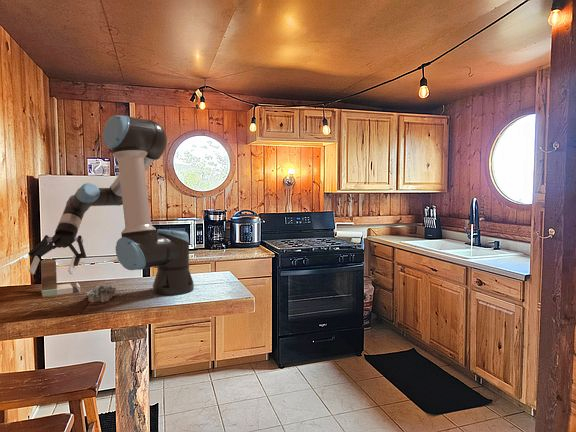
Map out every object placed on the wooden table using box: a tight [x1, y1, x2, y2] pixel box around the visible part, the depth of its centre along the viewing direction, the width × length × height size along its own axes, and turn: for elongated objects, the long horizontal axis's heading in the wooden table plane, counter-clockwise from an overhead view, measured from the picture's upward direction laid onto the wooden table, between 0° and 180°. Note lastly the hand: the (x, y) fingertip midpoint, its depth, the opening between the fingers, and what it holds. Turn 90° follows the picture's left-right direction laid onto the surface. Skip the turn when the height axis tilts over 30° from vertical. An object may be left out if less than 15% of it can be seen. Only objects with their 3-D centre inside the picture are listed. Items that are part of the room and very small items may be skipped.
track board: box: [40, 282, 81, 297], centre depth 146 cm, size 7×12×2 cm, turn 125°
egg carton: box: [86, 284, 117, 303], centre depth 140 cm, size 11×8×4 cm
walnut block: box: [40, 259, 58, 290], centre depth 144 cm, size 4×4×10 cm
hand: (50, 272), depth 146 cm, fingers open, 13 cm apart
